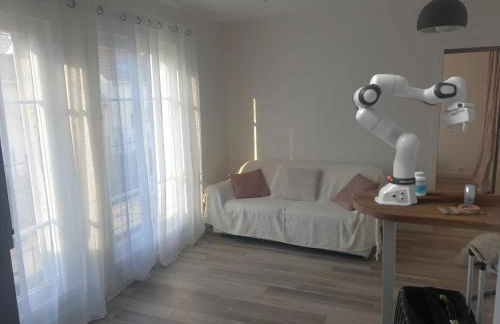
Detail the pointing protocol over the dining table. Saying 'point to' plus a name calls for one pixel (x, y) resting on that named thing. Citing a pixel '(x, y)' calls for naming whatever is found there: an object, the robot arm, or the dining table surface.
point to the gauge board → (456, 212)
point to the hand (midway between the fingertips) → (457, 133)
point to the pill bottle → (420, 184)
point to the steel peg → (469, 194)
